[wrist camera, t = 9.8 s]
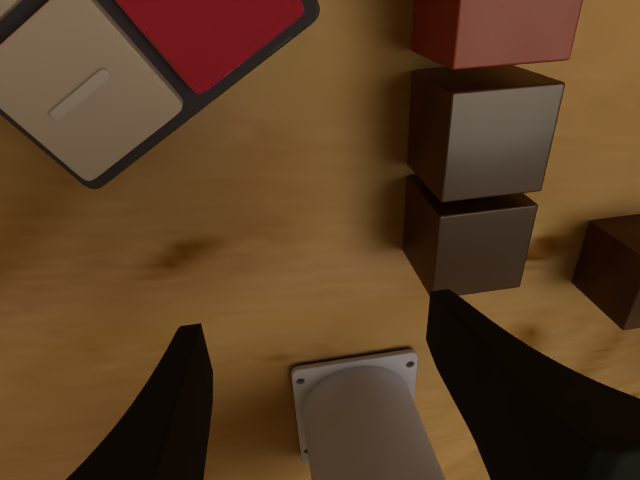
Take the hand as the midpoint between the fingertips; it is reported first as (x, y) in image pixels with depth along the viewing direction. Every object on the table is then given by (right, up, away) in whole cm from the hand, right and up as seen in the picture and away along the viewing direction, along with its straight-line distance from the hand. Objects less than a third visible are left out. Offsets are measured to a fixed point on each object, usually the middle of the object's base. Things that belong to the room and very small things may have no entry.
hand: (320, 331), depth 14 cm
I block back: (+18, +2, +13) cm, 22 cm away
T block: (+6, +9, +7) cm, 13 cm away
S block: (+6, +13, +4) cm, 15 cm away
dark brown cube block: (+7, +4, +10) cm, 12 cm away
